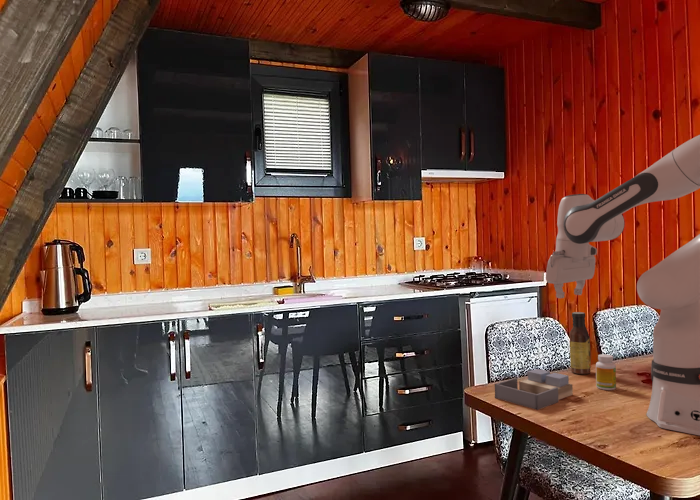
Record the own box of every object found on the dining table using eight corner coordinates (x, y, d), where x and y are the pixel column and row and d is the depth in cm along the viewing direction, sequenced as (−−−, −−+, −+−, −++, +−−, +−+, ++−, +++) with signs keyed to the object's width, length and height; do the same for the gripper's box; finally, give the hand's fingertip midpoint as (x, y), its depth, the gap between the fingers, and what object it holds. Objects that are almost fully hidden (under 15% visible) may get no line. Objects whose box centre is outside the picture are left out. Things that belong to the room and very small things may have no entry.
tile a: (568, 384, 155) (568, 375, 155) (559, 387, 152) (559, 378, 152) (554, 381, 159) (554, 372, 159) (545, 384, 156) (545, 375, 156)
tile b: (550, 379, 160) (549, 371, 160) (541, 382, 157) (541, 374, 157) (536, 376, 164) (536, 368, 163) (527, 379, 161) (527, 371, 161)
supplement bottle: (617, 391, 157) (616, 358, 157) (597, 389, 159) (596, 357, 158) (614, 385, 162) (614, 353, 162) (595, 384, 164) (594, 353, 163)
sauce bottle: (594, 374, 174) (593, 314, 173) (574, 375, 174) (573, 314, 174) (585, 369, 181) (584, 311, 180) (567, 370, 181) (566, 311, 180)
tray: (558, 401, 149) (558, 387, 149) (537, 409, 143) (537, 395, 143) (515, 390, 160) (515, 377, 160) (494, 397, 154) (494, 384, 154)
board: (572, 394, 155) (572, 384, 155) (555, 400, 150) (555, 390, 150) (536, 385, 165) (536, 375, 165) (519, 391, 160) (519, 381, 160)
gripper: (561, 252, 148) (558, 301, 149) (600, 249, 160) (597, 294, 162) (541, 250, 153) (539, 298, 154) (580, 247, 165) (577, 291, 167)
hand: (569, 296), depth 158 cm, fingers open, 8 cm apart
